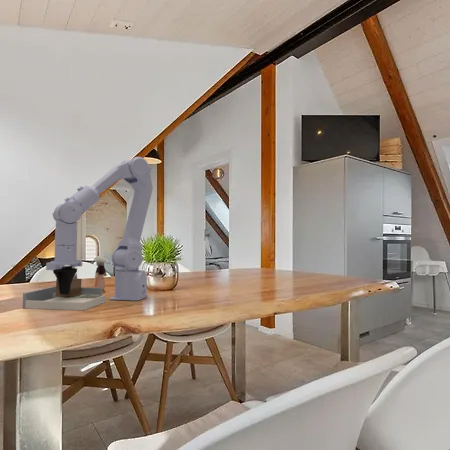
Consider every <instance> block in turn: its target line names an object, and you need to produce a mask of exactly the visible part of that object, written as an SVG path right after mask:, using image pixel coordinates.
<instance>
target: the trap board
mask: <svg viewBox="0 0 450 450" xmlns="http://www.w3.org/2000/svg"><path fill="white" fill-rule="evenodd" d="M106 299H107V298H106V294H103V293H102V288H94V287H88V286H87V287H83V286H81V295H79V296H71V297H63V296H56V286H49V287H45V288H41V289H35V290H32V291H28V292H22V309H37V310H40V309H41V310H43V309H44V310H60V311H61V310H62V311H63V310H64V311H66V310H67V311H86V310H89V309H91V308H93V307H94V308H95V307H97V306H98V305H99V306H100V305H102V304H104V303H106V301H107V300H106ZM101 303H102V304H101Z"/></svg>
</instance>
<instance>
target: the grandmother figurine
mask: <svg viewBox="0 0 450 450" xmlns="http://www.w3.org/2000/svg"><path fill="white" fill-rule="evenodd" d="M95 261H96V262H95V263H96V265H97V267H96V270H95V275H94V278H95V281H94V285H93V286H94V287H93V288H102V294H103V293H105V292H107V291H106V290H105V289H106V282H105V281H106V280H105V278H104V277H107V275H108V274H107V270H106V268H105V265H104V264H105V263H106V261H107V259H106V258H105V257H104V256H103V255H97V256H96V258H95Z"/></svg>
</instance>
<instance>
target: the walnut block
mask: <svg viewBox="0 0 450 450" xmlns="http://www.w3.org/2000/svg"><path fill="white" fill-rule="evenodd" d="M55 282H56V283H55V287H56V296H63V297H71V296H79V295H81V287H82V278H77V279H76V278H73V280H72V282H71V288H70V293H69V294H67V295H66V294H60V292H59V283H58V280H57V278H56V281H55Z"/></svg>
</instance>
